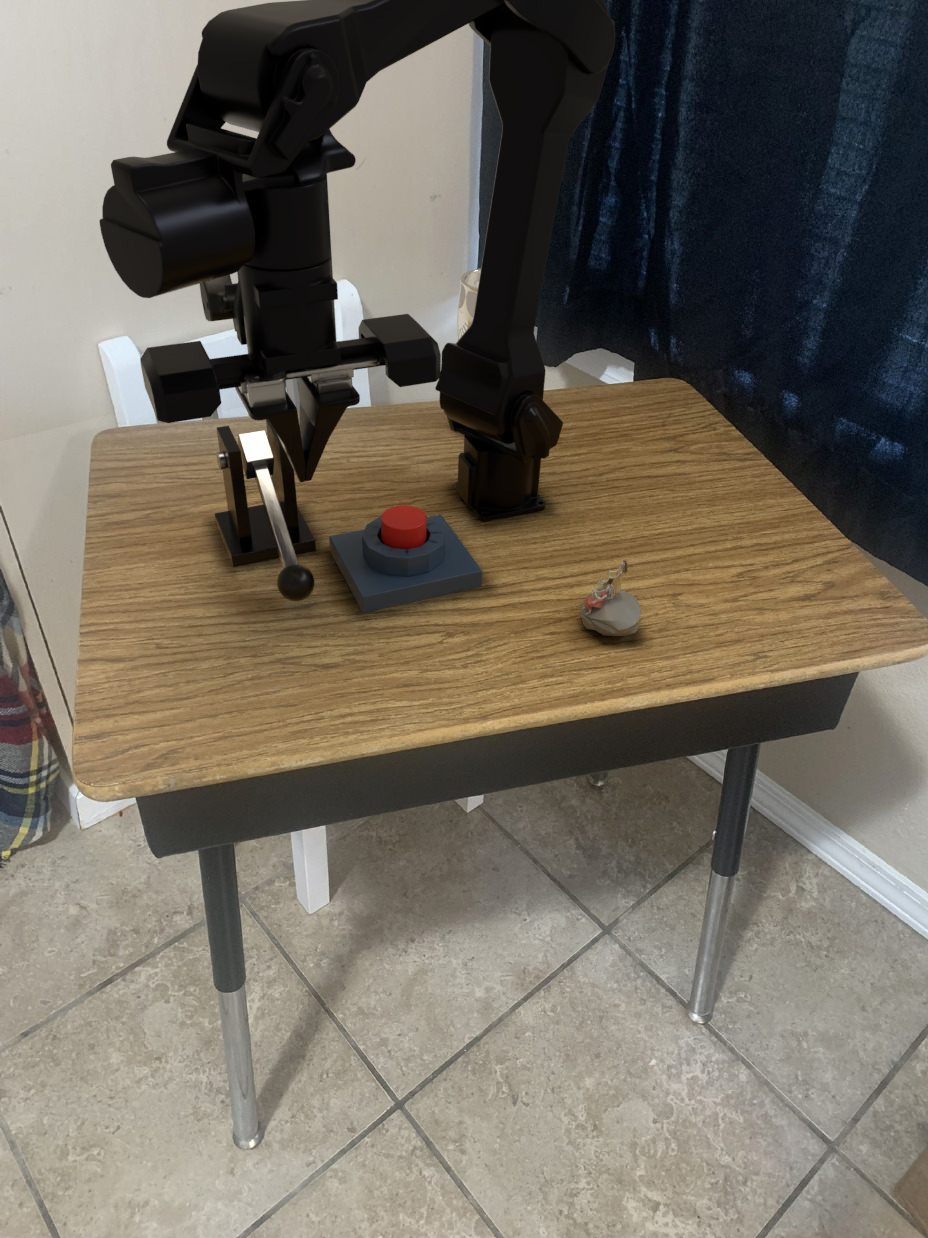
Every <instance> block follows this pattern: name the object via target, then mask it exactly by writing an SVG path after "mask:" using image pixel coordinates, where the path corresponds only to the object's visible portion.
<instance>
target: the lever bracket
mask: <svg viewBox="0 0 928 1238" xmlns="http://www.w3.org/2000/svg"><path fill="white" fill-rule="evenodd" d="M265 424H266V434H267V437H268V440H269V443H270V446H271V449H272V453H273V456H274V470H273V475H271V478H272V481H273V484H274V488H275V491H276V494H277V497H278V500H279V503H280V507H281V510H282V513H283V516H284V519H285V522H286V526H287V529H288V532H289V535H290V538H291V541H292V545H293V548H294V551H295V554H296V556H297V555H301V554H307V553H312V552H317V542H316V539H315V537H314V535H313V533H312V530H311V529H310V527H309V525H308V523H307V521H306V520H305V518H304V516H303V514H302V511H301V509H300V508H299V507H298V499H297V488H296V487H297V486H296V478H295V477H296V475H295V472H294V470H293V467H292V465H291V463H290V461H289V459H288V456H287V454H286V452H285V450H284V448H283V446H282V443H281V441H280V439H279V437H278V435H277V433H276V431H275V430H274V428H273V427H272V425H271V424H270V422H269V421H268V420H265ZM216 434H217V441H218V442H217V443H218V449H219V451H216V459H217V464H218V468H219V470H221V471H222V476H223V477H222V478H223V484H224V493H225V498H226V505H227V510H226V511H220V512H215V513H214V520H215V525H216V528H217V530H218V533H219V536H220V538H221V540H222V542H223V545H224V548H225V550H226V553H227V555H228V558H229V560H230V563H231V566H232V567H233V568H237V567H241V566H246V565H253V564H256V563H262V562H267V561H271V560H275V559H276V560H277V559H280V557H279V554H278V551H277V548H276V544H275V541H274V538H273V535H272V531H271V528H270V525H269V522H268V518H267V515H266V512H265V509H264V505H263V504H258V505H253V506H249V505H248V496H247V490H246V489H247V488H246V480H245V472H244V469H243V464H242V456H241V450H240V448H239V446H238V441H237V440H236V438H235V435H234V434H233V432H232V429H231V427H230V425H223V426H217V427H216Z"/></svg>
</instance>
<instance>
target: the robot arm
mask: <svg viewBox="0 0 928 1238" xmlns="http://www.w3.org/2000/svg"><path fill="white" fill-rule="evenodd" d="M467 25H468V26H469V28H470V29H471V30H472V31H473V32H474V33H475V34H476V35H477V36H478V37H479V38H480V39H481V40H482V41H484V42H485V43H486V44H487V46H489V65H488V66H489V67H488V82H489V85H490V89H491V92H492V95H493V99H494V102H495V106H496V108H497V111H498V115H499V118H500V121H501V137H500V142H499V143H500V144H499V149H498V155H497V156H498V157H497V161H496V169H495V176H494V181H493V187H492V195H491V202H490V209H489V215H488V220H487V227H486V232H485V233H486V234H485V241H484V247H483V253H482V259H481V260H482V261H481V266H480V268H481V272H480V279H479V285H478V292H477V298H476V305H475V311H474V317H473V321H472V324H471V325H470V327H469V328H468V329H467V330H466V332H465V333H464V334H463V335H462V337H461V338H460V339H459V340H458V339H457V342H454V343H453V342H446V344H445V345H444V347H443V348H442V351H440V346H439V343H438V342H437V340H435V339H434V338H433V337H432V335H430V334H429V332H428V331H427V330H426V329H424V327H422V325H421V324H420V323H419V322H418V321H417V320H416V319H415V318H414V317H412V316H411V314H409V313H404V314H403V313H402V314H396V315H395V314H394V315H387V316H379V317H373V318H364V319H361V321H360V323H359V325H358V338H353V339H347V340H339V341H337V327H336V324H337V323H336V308H335V301H338V300H339V291H338V282H337V281H336V280H335V279H334V273H333V258H332V257H333V256H332V240H331V222H330V205H329V185H328V174H329V173H335V172H338V171H342V170H347V169H351V168H353V167H354V166H355V165H356V161H357V159H356V155H354V154H353V153H352V152H351V151H350V150H349V149H348V148H347V147H345V146H344V145H343V144H342V143H341V142H340V141H338V139H336V137H335V136H334V135H333V132H332V131H331V128H333V127H334V126H335V125H336V124H337V123H339V122H340V121H341V120H342V119H343V118H344V117H346V116H347V115H348V114H349V113H350V112H351V111H352V110H354V109H355V108H356V106H357V105H358V104H359V102H360V100H361V98H362V95H363V92H364V90H365V87H366V85H367V83H368V82H369V81H371V79H372V78H374V77H375V76H376V75H377V74H378V73H379V72H381V71H383V70H385V69H386V68H388V67H391V66H392V65H394V64H397V63H398V62H400V61H402V60H403V59H405V58H407V57H409V56H411V55H413V54H415V53H417V52H419V51H420V50H422V49H424V48H426V47H427V46H429V45H431V44H433V43H435V42H437V41H439V40H441V39H443V38H444V37H446V36H448V35H451V34H452V33H454V32H456V31H458V30H459V29H461V28H463V27H464V26H467ZM615 27H616V25H615V21H614V20H613V19H612V17H610V12H609V9H608V5H607V4H606V2H605V0H288V1H275V2H265V3H260V4H255V5H249V6H244V7H238V8H232V9H227V10H224V11H221V12H219V13H217V15H215V16H214V17H212V18H211V19H210V20H208V22H207V23H206V24H205V26H204V28H202V31H201V43H200V45H199V48H198V51H197V64H196V66H195V68H194V72H193V74H192V77H191V79H190V82H189V84H188V87H187V90H186V92H185V94H184V97H183V99H182V102H181V104H180V107H179V108H178V109H179V110H178V112H177V114H176V117H175V120H174V123H173V124H172V127H171V129H170V132H169V135H168V137H167V140H166V146H167V149H168V150H169V151H170V153H165V154H159V155H153V156H148V157H141V156H126V157H121V158H117V159H113V160H112V162H110V170H111V175H112V180H113V185H112V186H111V187H110V188H108V189H107V190H106V192H105V194H104V197H103V202H102V207H101V208H102V211H101V212H102V215H101V216H102V218H100V219H99V230H100V234H101V237H102V242H103V245H104V247H105V251H106V253H107V255H108V258H109V260H110V262H111V264H112V266H113V268H114V270H115V272H116V273H117V275H118V276H119V278H120V280H121V281H122V282H123V283H124V285H125V286H126V287H127V288H128V289H129V290H130V291H131V292H132V293H134V294H135V295H137V296H138V297H141V298H143V299H152V298H154V297H158V296H162V295H165V294H169V293H172V292H176V291H179V290H182V289H185V288H189V287H193V286H195V285H199V290H200V298H201V303H202V309H203V314H204V318H205V320H206V321H208V322H219V321H226V320H232V322H233V328H234V329H233V330H234V332H235V333H236V338H237V340H238V341H239V343H240V345H241V346H244V345H246V348H247V349H246V350H247V353H243V354H236V355H229V356H221V357H214V358H210V356H209V355H208V352H207V351H206V349H205V347H204V345H203V343H202V341H201V340H195V341H189V342H188V341H187V342H181V343H179V342H178V343H172V344H165V345H158V346H151V347H146V349H145V350H144V352H143V353H142V355H141V356H140V360H139V361H140V367H141V368H140V369H141V375H142V378H143V384H144V388H145V391H146V393H147V396H148V399H149V401H150V404H151V406H152V409H153V412H154V414H155V417H156V420H157V421H158V422H162V423H167V424H172V423H179V422H185V421H193V420H199V419H203V418H204V419H205V418H210V417H212V416H213V414H214V413H215V412H216V411H217V409H218V408H219V407H220V406H221V404H222V397H221V391H220V390H228V389H233V388H234V389H235V391H236V393H237V395H238V397H239V399H240V401H241V402H242V404H243V406H244V408H245V410H246V412H247V413H248V416H249V417H250V419H252V420H254V421H266V420H268V421H269V422H270V424H271V425H272V427H273V428H274V430H275V431H276V433H277V435H278V437H279V439H280V441H281V443H282V446H283V448H284V450H285V452H286V454H287V456H288V459H289V461H290V463H291V465H292V467H293V470H294V475H295V477H296V478H297V480H298V482H299V483H304V482H311V481H312V480H313V477H314V474H315V472H316V470H317V467H318V465H319V463H320V461H321V458H322V456H323V453H324V451H325V448H326V446H327V444H328V441H329V440H330V437H331V436H332V434H333V432H334V430H335V429H336V427H337V425H338V424H339V422H340V420H341V419H342V417H343V415H344V413H345V412H346V410H347V409H348V408H349V407H353V406H356V405H358V404H359V403H360V400H361V397H360V396H361V395H360V394H359V392H358V390H357V389H356V388H355V387H354V385H353V378H354V377H355V373H354V371H355V370H363V369H370V368H377V367H383V366H385V367H384V369H385V375H386V377H387V378H388V379H389V380H391V382H393V383H394V384H395V385H396V386H397V387H399V388H405V387H411V386H416V385H424V384H430V383H436V382H437V383H436V386H435V391H437V392H439V398H438V399H439V407H440V409H441V410H443V412H444V414H445V416H446V417H447V421H448V424H449V428H450V430H451V431H452V432H454V433H460V434H461V435H463V452H459V454H458V458H457V460H458V462H457V482H455V484H454V489H455V490H456V492H457V494H458V495H459V497H460V498H461V500H463V501H464V503H465V504H466V505H467V506H468V507H469V508H470V510H471V511H472V512H473V514H475V516H476V517H477V518H478V520H480V521H482V522H488V521H494V520H498V519H502V518H509V517H512V516H513V517H514V516H518V515H522V514H528V513H532V512H533V513H534V512H538V511H543V510H545V509H546V508H547V507H546V506H547V502H546V501H545V500H544V499H543V498H542V497H541V495H540V494H539V490H540V489H539V488H540V479H541V478H540V476H541V466H542V459H546V458H548V457H549V456H550V450H551V449H553V448H555V447H556V446H557V445H558V442H559V439H560V436H561V433H562V429H563V426H564V422H563V421H562V419H561V418H560V417H559V416H558V415H557V414H556V413H555V411H554V410H553V409H551V407H550V406H549V405H548V404H547V403H546V402H545V401H544V392H545V380H546V366H545V364H544V360H543V358H542V354H541V351H540V348H539V344H538V342H537V339H536V336H535V326H536V320H537V315H538V309H539V304H540V300H541V293H542V289H543V284H544V277H545V272H546V267H547V261H548V256H549V251H550V244H551V241H552V235H553V229H554V223H555V217H556V213H557V207H558V203H559V202H558V201H559V196H560V191H561V186H562V180H563V175H564V169H565V165H566V159H567V153H568V149H569V144H570V140H571V136H572V135H573V134H574V132H575V131H576V129H577V128H578V127H579V126H580V124H581V123H582V122H583V121H584V119H585V118H586V117H587V115H589V113H590V112H591V110H592V109H593V108H594V106H595V105H596V104H597V103H598V101H599V99H600V96H601V93H602V89H603V85H604V82H605V79H606V75H607V72H608V69H609V64H610V61H611V59H612V57H613V54H614V51H615V50H614V49H615V44H616V28H615ZM226 123H227V124H229V125H232V126H235V127H239V128H243V129H246V130H249V131H253V132H256V133H258V134H257V136H256V137H253V136H250V135H246V134H244V133H243V134H242V133H239V132H235V131H232V130H229V129H225V128H223V127H224V125H225V124H226ZM235 273H236V275H237V282H236V283H235V282H234V283H233V282H232V278H231V275H233V274H235ZM294 379H296V385H297V391H298V398H299V414H298V407H297V406H296V405H295V403H294V401H293V400H292V398H291V396H290V395H289V394H288V392H287V383H286V382H287V381H288V380H294Z"/></svg>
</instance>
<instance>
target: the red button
mask: <svg viewBox="0 0 928 1238" xmlns="http://www.w3.org/2000/svg"><path fill="white" fill-rule="evenodd" d="M380 516H381V539H382V541H383V543H384V544H385V545H387V546H389V547H391V548H396V549H411V548H416V547H420V546H421V545H423V544H424V543H425V541H426V527H427V517H428V516H427V515H426V512H425V511H423V510H422V509H421V508H419V507H417V506H413V505H409V504H407V505H406V504H401V505H400V504H399V505H394V506H391V507H388V508H387V509H385V510H384V511H383V512H382V513H381V515H380Z"/></svg>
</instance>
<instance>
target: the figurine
mask: <svg viewBox="0 0 928 1238" xmlns="http://www.w3.org/2000/svg"><path fill="white" fill-rule="evenodd" d="M628 565H629V563H628V561H627V560H626V559H624V560H622V561H621V563H620V565H619V567H618V568H617V569H616V570H613V571H612V570H608V573H606V575H604V576H602V577H600V579H598V580H597V581H596V584H595V585H594V587H593V589H591V592H592V593H590V594H589V595H587V596H586V597H585V599H584V600H583V602H582V603H581V607H580V617H581V621H582V625H583V626H584V628H585V629H587V630H591V631H595V632H597V633H599V634H600V635H602V636H605V637H606V636H607V637H626V636H629V635H633V634H635V633H637V631H638V630H639V626H640V623H639V620H640V619H641V615H642V607H641V604H640V602H639V601H638V599H637V598H636V597H635V596H634V595H633V594H631V593H630V592H628V591H626V590H623V589H621V588H622V581H623V574H626V573H628ZM614 573H616V575H614V576H611V574H614ZM607 576H608V578H607V580H602V579H604V578H606V577H607Z"/></svg>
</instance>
